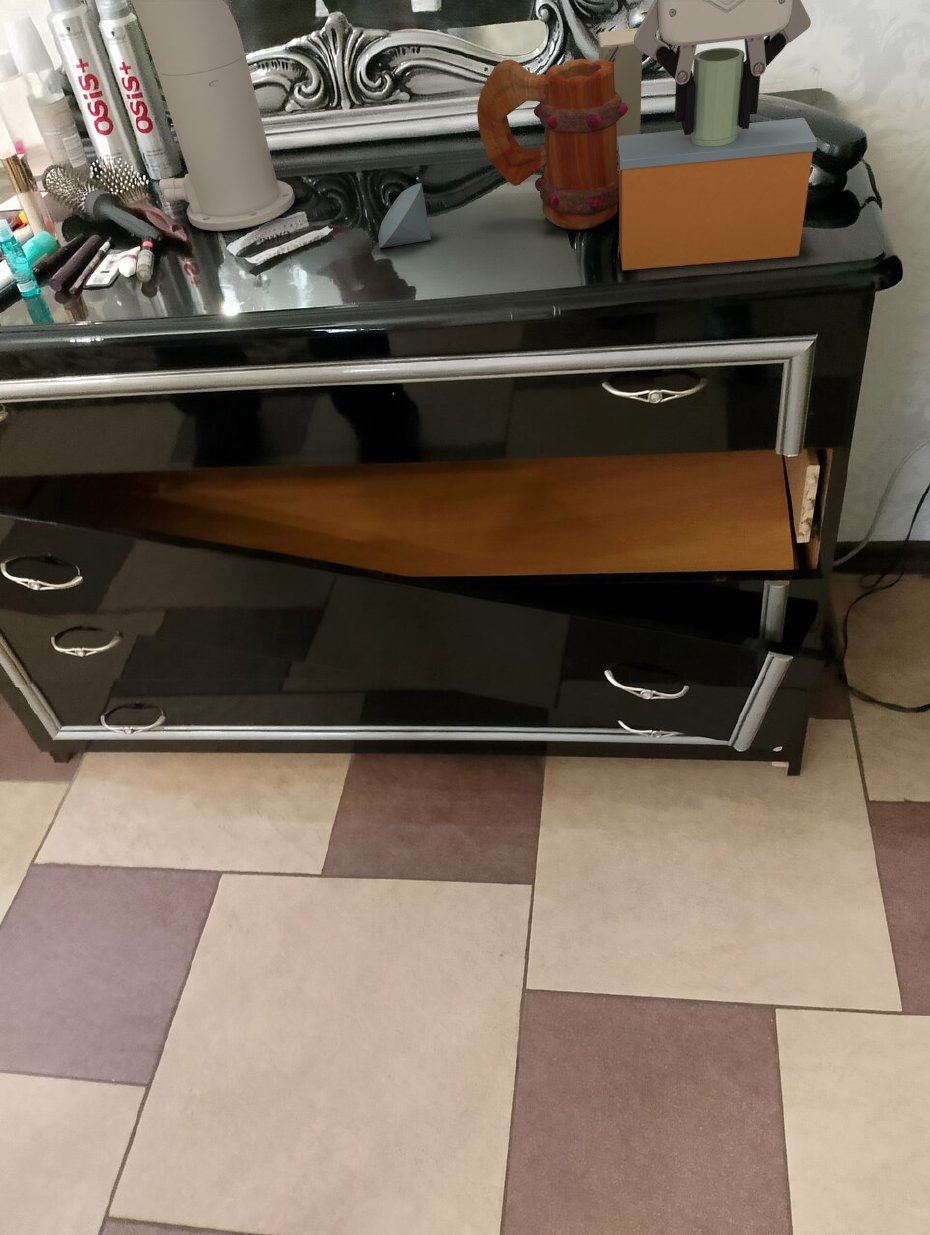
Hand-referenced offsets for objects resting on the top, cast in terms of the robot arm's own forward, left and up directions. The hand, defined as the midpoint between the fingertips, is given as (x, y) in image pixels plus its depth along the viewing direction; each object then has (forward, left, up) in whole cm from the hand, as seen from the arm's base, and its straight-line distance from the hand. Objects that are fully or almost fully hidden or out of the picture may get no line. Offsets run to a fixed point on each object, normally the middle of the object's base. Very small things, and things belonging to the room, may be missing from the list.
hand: (714, 124), depth 81 cm
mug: (-14, +10, -11) cm, 21 cm away
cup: (0, 0, -1) cm, 1 cm away
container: (0, 0, -11) cm, 11 cm away
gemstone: (-30, +8, -11) cm, 33 cm away
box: (-7, +24, -11) cm, 27 cm away
